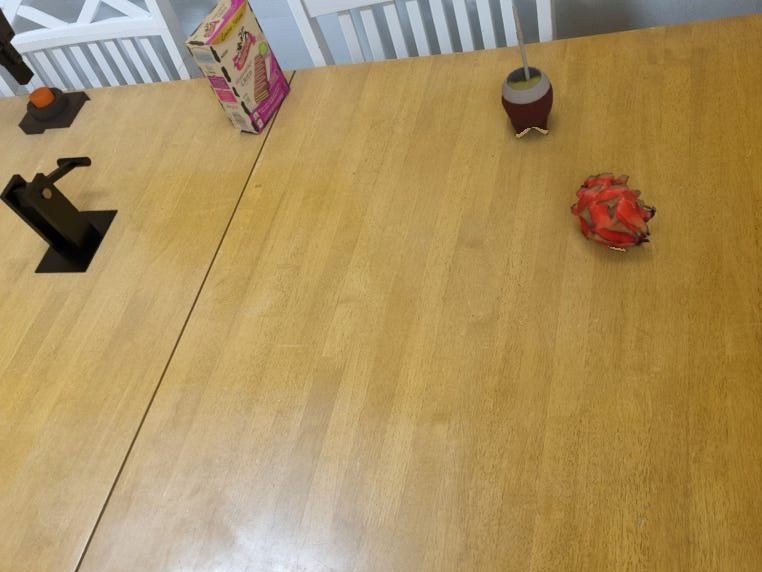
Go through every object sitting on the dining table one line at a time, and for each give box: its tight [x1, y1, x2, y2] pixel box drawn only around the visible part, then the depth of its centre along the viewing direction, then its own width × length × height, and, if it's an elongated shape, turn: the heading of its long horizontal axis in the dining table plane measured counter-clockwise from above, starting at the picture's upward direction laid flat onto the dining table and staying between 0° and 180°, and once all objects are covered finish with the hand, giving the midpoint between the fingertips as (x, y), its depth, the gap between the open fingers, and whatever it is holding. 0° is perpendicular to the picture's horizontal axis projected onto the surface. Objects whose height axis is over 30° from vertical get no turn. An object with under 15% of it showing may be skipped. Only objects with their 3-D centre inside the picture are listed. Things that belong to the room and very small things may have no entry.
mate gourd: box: [501, 5, 554, 134], centre depth 99 cm, size 8×8×15 cm
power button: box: [28, 86, 55, 108], centre depth 128 cm, size 4×4×2 cm
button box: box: [17, 86, 92, 136], centre depth 130 cm, size 10×8×4 cm
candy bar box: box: [184, 0, 291, 135], centre depth 113 cm, size 11×5×16 cm, turn 160°
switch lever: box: [13, 156, 92, 207], centre depth 106 cm, size 12×5×2 cm, turn 171°
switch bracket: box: [0, 172, 119, 274], centre depth 106 cm, size 12×9×13 cm
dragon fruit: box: [570, 172, 657, 249], centre depth 88 cm, size 8×8×12 cm
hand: (27, 79), depth 125 cm, fingers closed
